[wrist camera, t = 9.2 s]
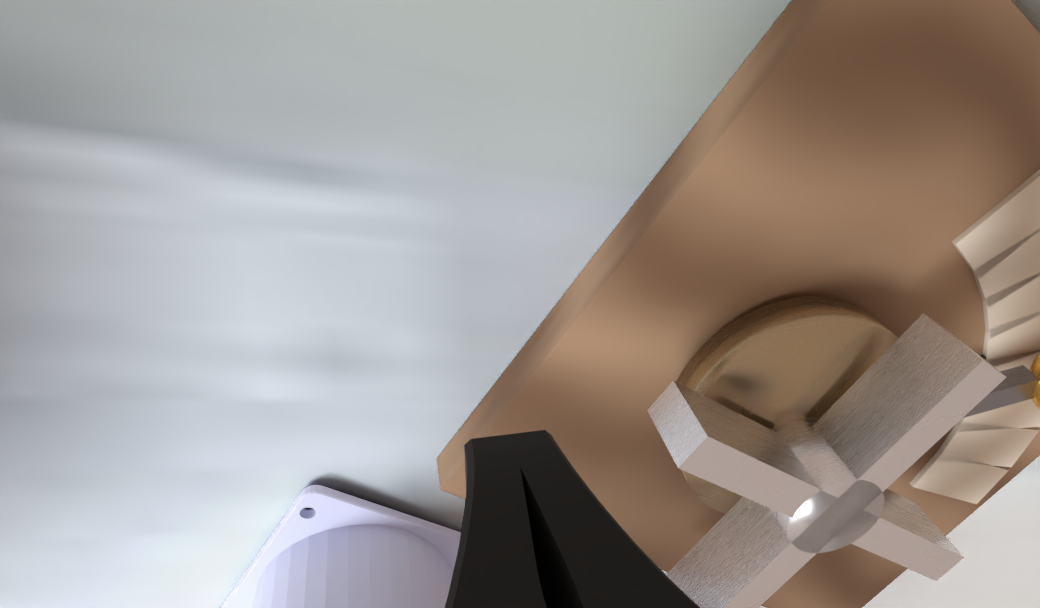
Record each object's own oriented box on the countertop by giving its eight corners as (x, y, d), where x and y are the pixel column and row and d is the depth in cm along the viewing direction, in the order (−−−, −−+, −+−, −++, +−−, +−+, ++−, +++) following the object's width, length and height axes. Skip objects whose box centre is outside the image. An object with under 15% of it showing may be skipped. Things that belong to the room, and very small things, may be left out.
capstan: (807, 594, 31) (866, 689, 27) (529, 491, 24) (558, 597, 21) (1092, 336, 26) (1208, 411, 22) (835, 125, 20) (941, 182, 16)
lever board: (816, 603, 34) (835, 635, 33) (436, 458, 25) (441, 494, 24) (1207, 257, 27) (1254, 278, 26) (878, -112, 18) (922, -110, 17)
